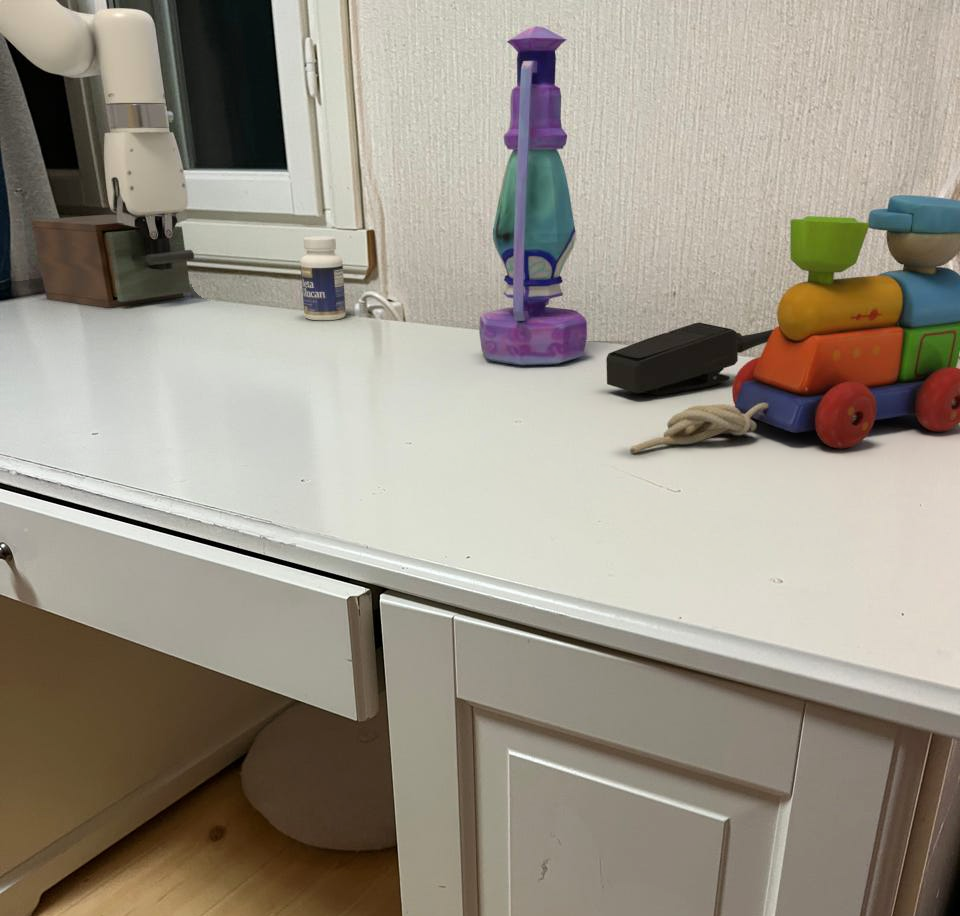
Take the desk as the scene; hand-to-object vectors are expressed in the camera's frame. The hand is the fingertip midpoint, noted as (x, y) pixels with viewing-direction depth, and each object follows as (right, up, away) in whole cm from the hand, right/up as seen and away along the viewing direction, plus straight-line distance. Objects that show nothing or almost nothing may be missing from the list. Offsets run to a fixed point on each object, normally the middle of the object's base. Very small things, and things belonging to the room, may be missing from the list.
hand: (160, 268), depth 138 cm
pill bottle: (+24, -10, -9) cm, 28 cm away
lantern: (+50, -22, -33) cm, 64 cm away
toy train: (+71, -35, -59) cm, 99 cm away
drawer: (-5, -2, +5) cm, 8 cm away
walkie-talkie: (+66, -28, -45) cm, 84 cm away
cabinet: (-10, -1, +9) cm, 13 cm away
